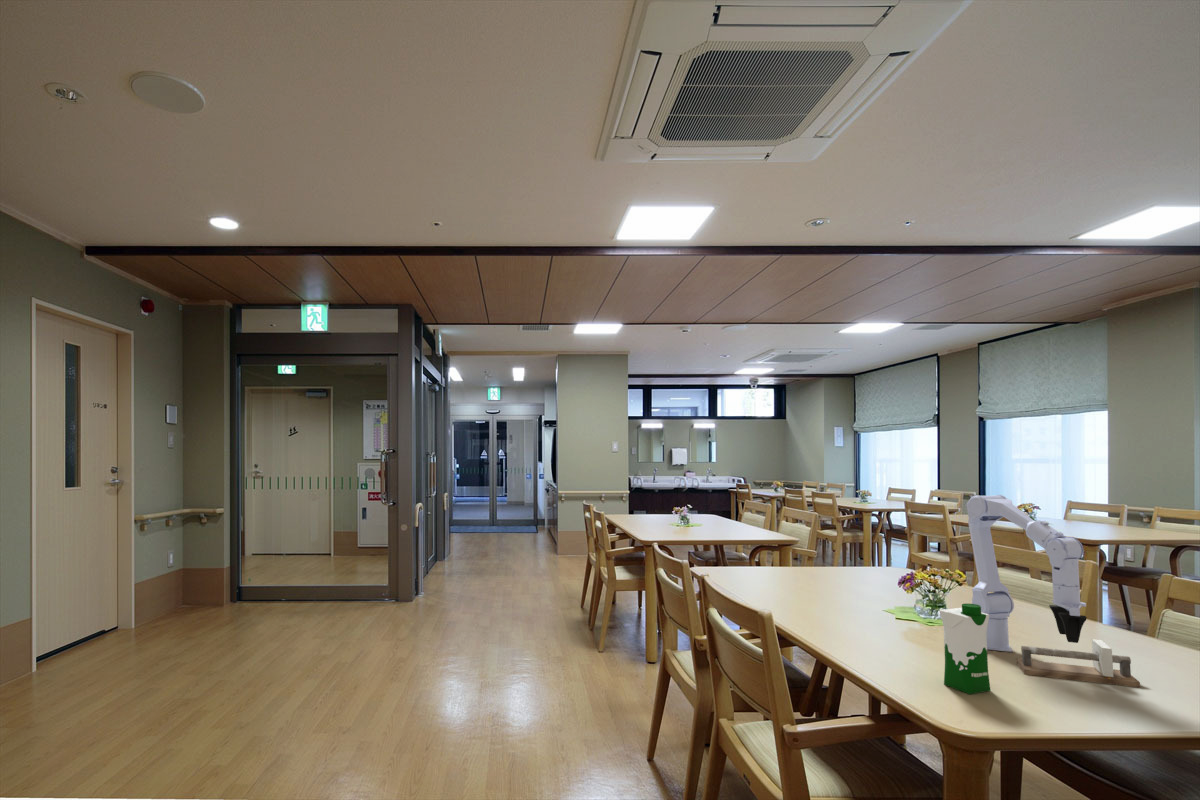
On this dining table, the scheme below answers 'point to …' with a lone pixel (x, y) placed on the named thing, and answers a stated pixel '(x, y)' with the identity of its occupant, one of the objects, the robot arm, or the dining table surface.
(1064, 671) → the slider rail
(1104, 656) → the collar
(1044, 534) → the robot arm
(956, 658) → the milk carton
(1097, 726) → the dining table surface
